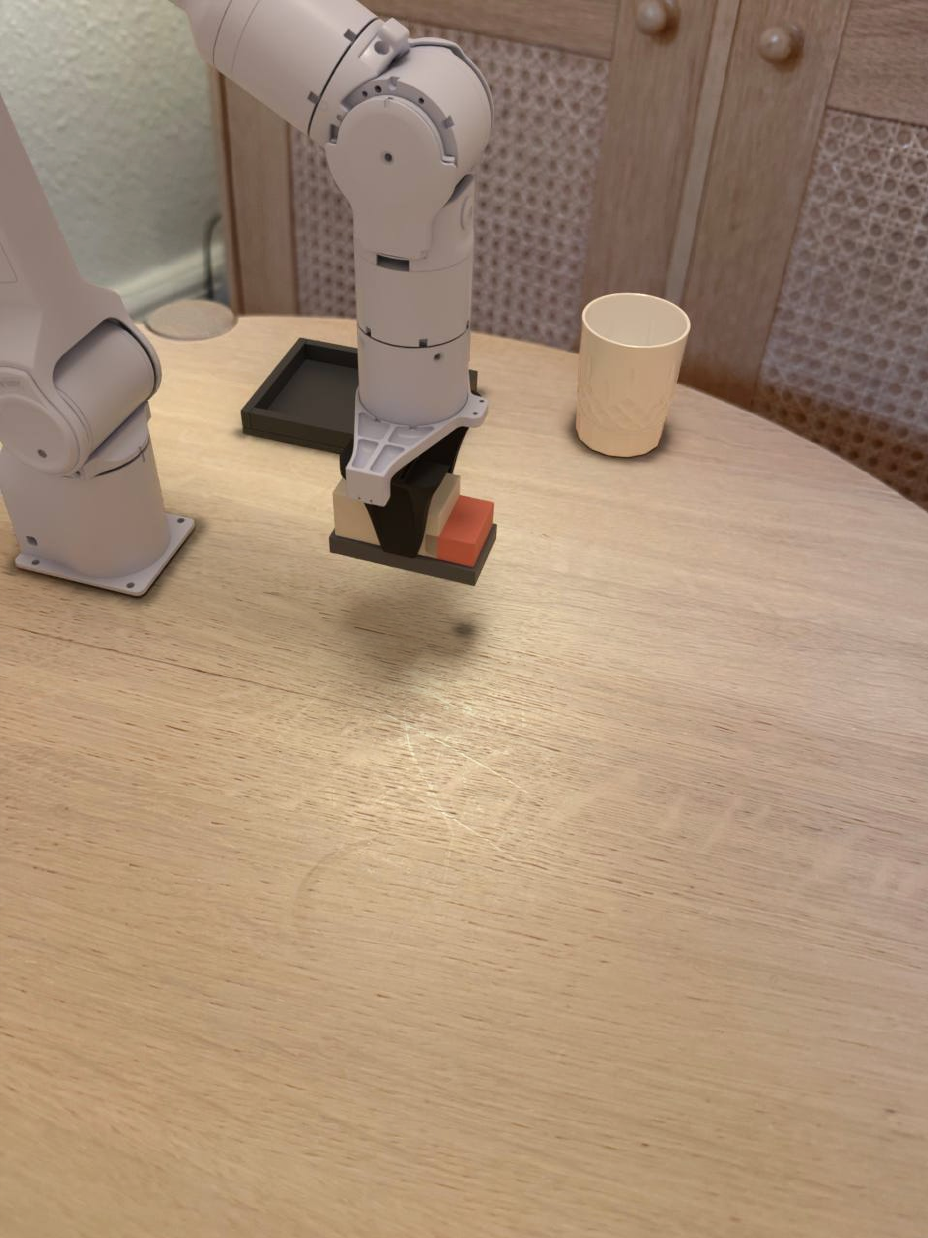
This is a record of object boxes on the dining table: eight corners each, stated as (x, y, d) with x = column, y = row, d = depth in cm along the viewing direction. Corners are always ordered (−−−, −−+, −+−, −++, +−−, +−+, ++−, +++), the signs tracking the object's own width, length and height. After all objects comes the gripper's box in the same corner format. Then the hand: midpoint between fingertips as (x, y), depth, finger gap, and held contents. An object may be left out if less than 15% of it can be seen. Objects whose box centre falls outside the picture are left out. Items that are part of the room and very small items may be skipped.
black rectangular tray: (242, 433, 84) (239, 410, 83) (301, 358, 92) (299, 336, 91) (433, 473, 81) (434, 450, 80) (476, 392, 89) (478, 370, 88)
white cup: (684, 425, 87) (707, 312, 80) (641, 475, 82) (662, 358, 75) (597, 394, 90) (612, 282, 82) (550, 440, 85) (562, 325, 78)
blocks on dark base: (329, 552, 64) (325, 493, 61) (356, 507, 67) (354, 449, 64) (474, 587, 62) (478, 528, 59) (496, 538, 65) (500, 480, 62)
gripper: (445, 411, 48) (439, 625, 58) (527, 268, 58) (511, 471, 68) (299, 381, 50) (317, 595, 59) (404, 246, 60) (405, 448, 69)
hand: (413, 527), depth 64 cm, fingers closed on blocks on dark base, 4 cm apart
